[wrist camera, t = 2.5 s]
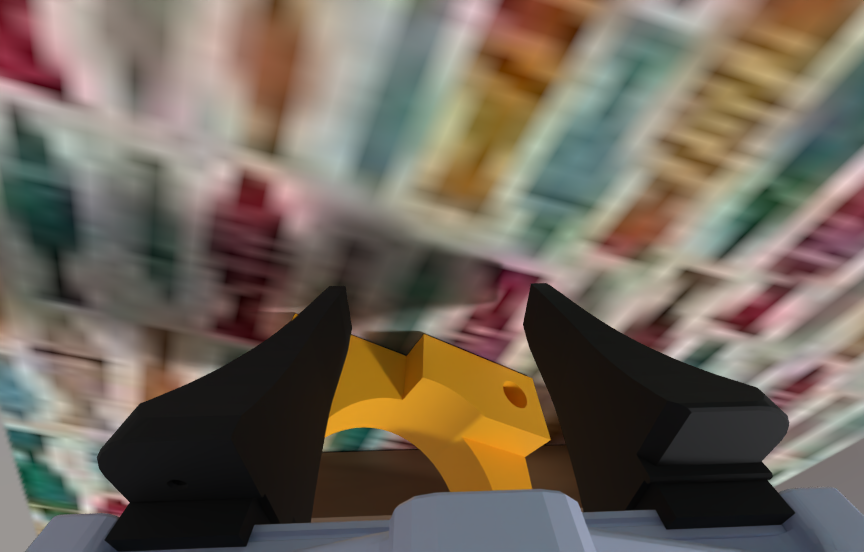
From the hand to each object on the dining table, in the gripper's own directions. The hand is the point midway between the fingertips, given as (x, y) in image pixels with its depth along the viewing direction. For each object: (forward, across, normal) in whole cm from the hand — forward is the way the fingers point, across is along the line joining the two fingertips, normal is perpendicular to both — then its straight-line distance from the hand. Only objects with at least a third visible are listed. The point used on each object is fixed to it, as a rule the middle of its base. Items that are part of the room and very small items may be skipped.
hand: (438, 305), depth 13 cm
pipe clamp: (+2, +1, +5) cm, 5 cm away
